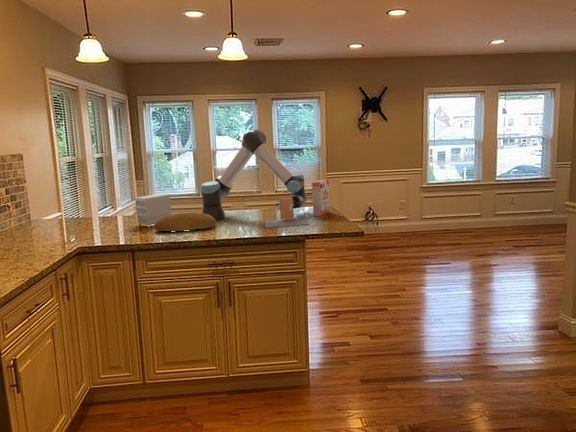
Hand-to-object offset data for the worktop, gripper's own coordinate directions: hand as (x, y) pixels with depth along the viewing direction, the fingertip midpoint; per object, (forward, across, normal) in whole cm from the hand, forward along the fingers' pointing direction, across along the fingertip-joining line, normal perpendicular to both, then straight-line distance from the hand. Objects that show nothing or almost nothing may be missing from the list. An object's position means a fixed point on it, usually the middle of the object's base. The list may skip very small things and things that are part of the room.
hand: (283, 208), depth 270 cm
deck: (-5, 0, -7) cm, 9 cm away
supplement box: (+1, +85, -9) cm, 86 cm away
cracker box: (-27, -16, -9) cm, 32 cm away
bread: (+16, +55, -9) cm, 58 cm away
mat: (+1, -1, -9) cm, 9 cm away
